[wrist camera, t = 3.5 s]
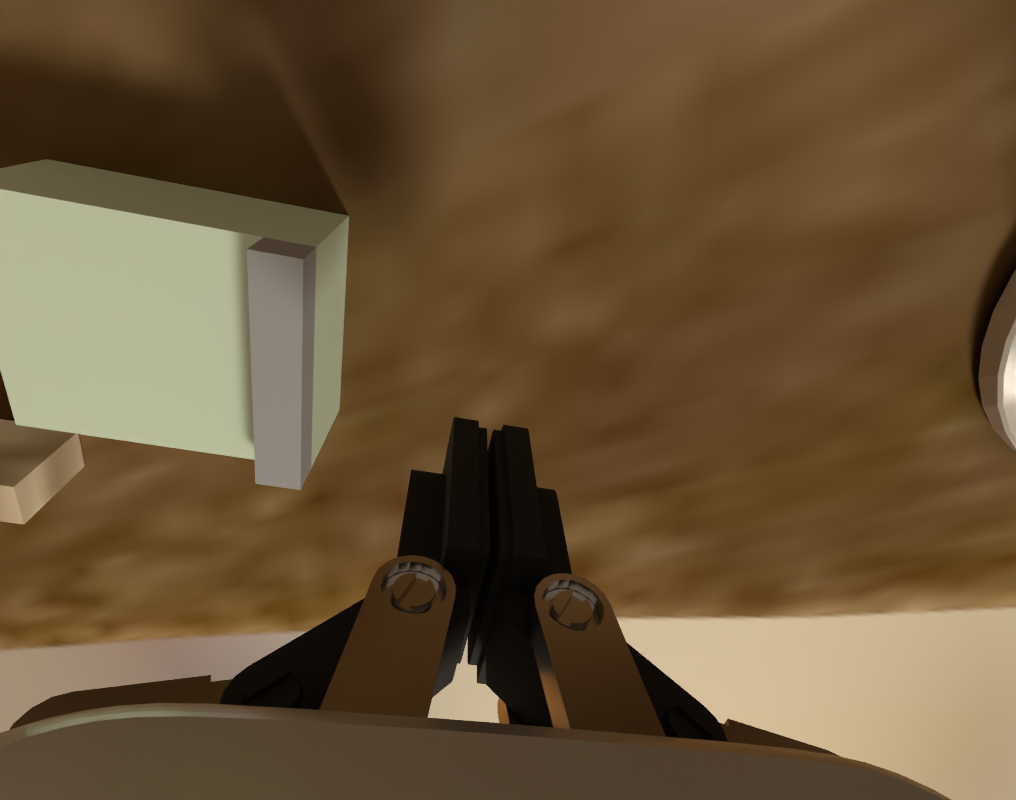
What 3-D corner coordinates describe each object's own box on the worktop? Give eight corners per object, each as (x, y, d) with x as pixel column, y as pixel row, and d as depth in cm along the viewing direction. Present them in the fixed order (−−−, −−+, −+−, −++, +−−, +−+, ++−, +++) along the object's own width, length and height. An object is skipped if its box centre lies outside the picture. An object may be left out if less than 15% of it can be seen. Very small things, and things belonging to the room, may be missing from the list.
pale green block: (351, 213, 16) (303, 259, 13) (341, 405, 20) (300, 489, 16) (54, 157, 16) (-96, 187, 12) (94, 367, 19) (-13, 445, 15)
